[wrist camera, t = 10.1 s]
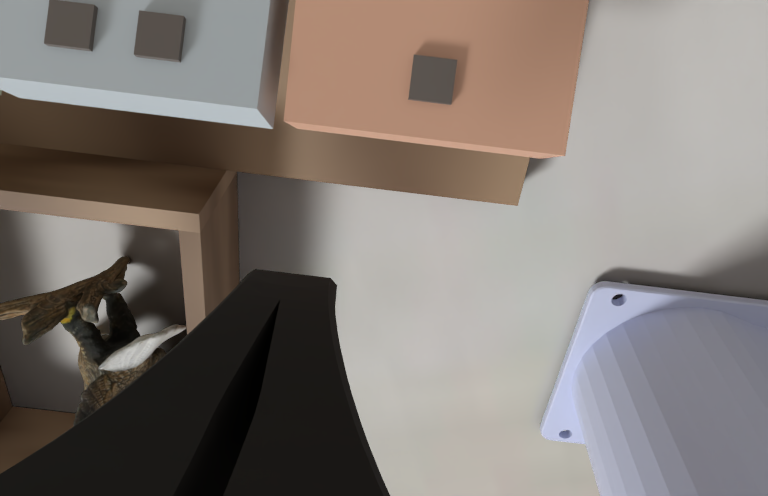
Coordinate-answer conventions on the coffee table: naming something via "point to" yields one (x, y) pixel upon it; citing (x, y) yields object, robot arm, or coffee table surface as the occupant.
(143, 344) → the eagle figurine
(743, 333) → the robot arm
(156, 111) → the tile
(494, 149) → the tile
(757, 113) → the coffee table surface
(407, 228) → the coffee table surface
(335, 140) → the board
